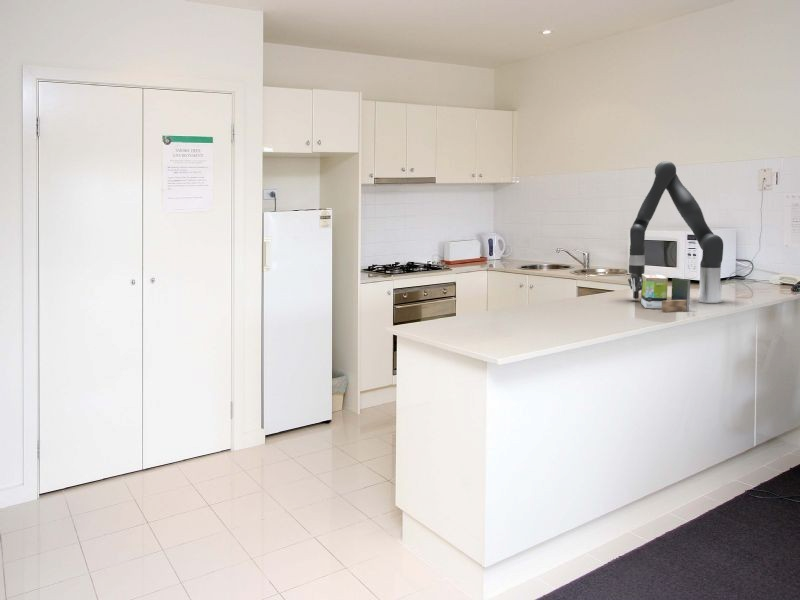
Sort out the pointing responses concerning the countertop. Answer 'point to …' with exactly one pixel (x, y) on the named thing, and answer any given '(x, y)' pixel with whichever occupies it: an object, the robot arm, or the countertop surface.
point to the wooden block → (674, 305)
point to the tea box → (653, 290)
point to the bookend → (681, 290)
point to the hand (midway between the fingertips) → (635, 298)
